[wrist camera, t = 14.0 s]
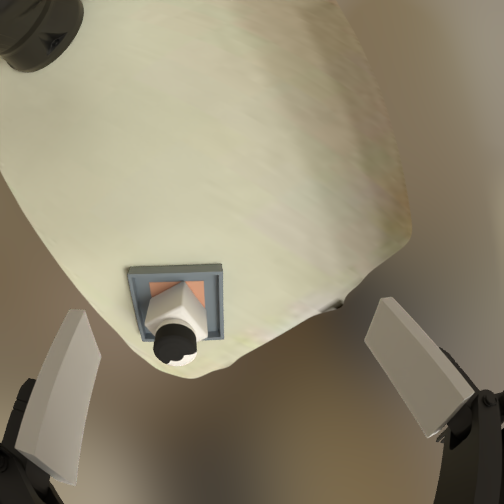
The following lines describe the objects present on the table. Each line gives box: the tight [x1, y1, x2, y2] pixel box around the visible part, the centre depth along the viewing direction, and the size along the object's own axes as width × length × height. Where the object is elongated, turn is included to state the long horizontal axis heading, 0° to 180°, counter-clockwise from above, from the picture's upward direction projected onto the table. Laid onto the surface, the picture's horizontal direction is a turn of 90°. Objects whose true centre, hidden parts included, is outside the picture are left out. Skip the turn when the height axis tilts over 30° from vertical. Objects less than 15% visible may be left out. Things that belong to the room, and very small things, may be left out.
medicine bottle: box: [145, 281, 208, 366], centre depth 39 cm, size 7×7×12 cm
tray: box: [127, 264, 224, 342], centre depth 44 cm, size 14×15×2 cm
